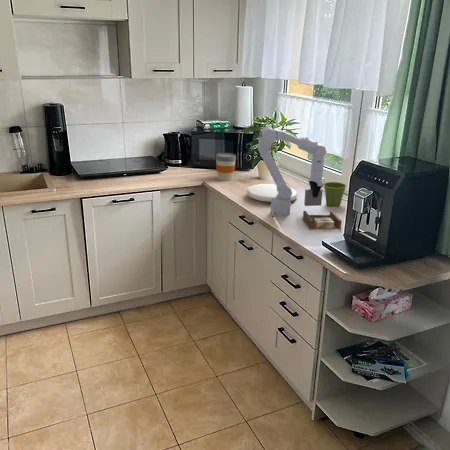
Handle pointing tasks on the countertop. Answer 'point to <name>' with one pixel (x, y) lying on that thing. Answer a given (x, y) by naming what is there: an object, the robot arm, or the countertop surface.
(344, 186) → the plant pot
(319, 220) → the birch offcut
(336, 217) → the walnut rack
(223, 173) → the reusable coffee cup
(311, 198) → the gray block
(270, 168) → the robot arm
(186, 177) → the countertop surface
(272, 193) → the plate
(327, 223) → the birch offcut
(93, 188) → the countertop surface
